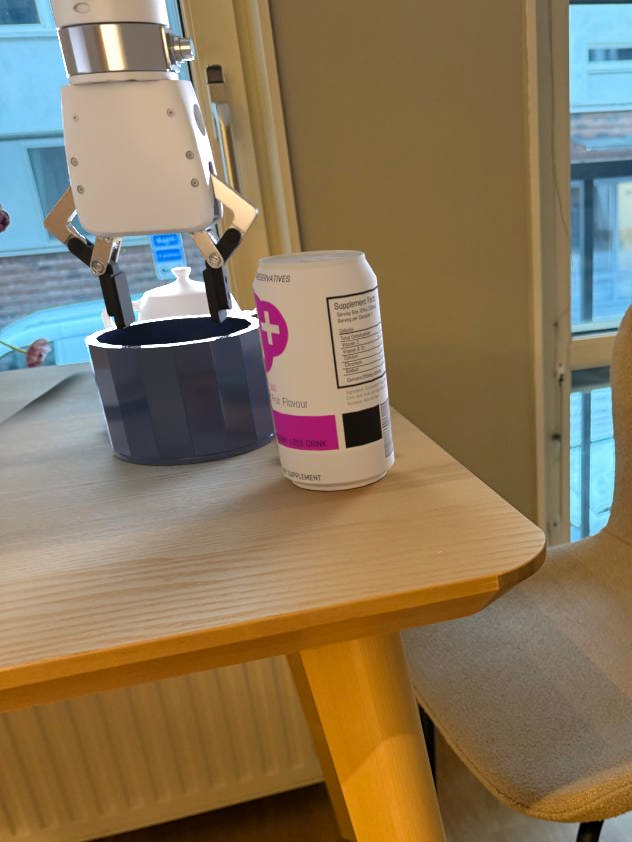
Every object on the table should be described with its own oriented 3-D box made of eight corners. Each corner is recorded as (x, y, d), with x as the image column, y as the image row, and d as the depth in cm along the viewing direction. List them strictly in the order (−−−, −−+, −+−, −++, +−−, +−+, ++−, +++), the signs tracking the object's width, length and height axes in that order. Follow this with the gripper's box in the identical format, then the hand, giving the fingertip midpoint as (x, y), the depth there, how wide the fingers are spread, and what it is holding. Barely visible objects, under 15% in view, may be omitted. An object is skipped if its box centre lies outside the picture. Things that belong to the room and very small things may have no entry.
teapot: (288, 342, 115) (275, 254, 110) (290, 363, 104) (276, 266, 99) (120, 358, 112) (100, 268, 107) (106, 380, 101) (82, 281, 96)
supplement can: (289, 500, 64) (252, 269, 57) (279, 465, 71) (245, 255, 64) (404, 484, 66) (383, 257, 58) (383, 452, 73) (362, 246, 66)
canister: (91, 470, 72) (60, 352, 68) (138, 423, 84) (114, 320, 80) (265, 459, 73) (246, 341, 68) (287, 413, 85) (272, 310, 80)
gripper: (252, 58, 69) (288, 308, 78) (17, 70, 69) (79, 321, 77) (234, 49, 62) (275, 324, 71) (-26, 63, 62) (47, 339, 70)
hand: (172, 321), depth 74 cm, fingers open, 6 cm apart
